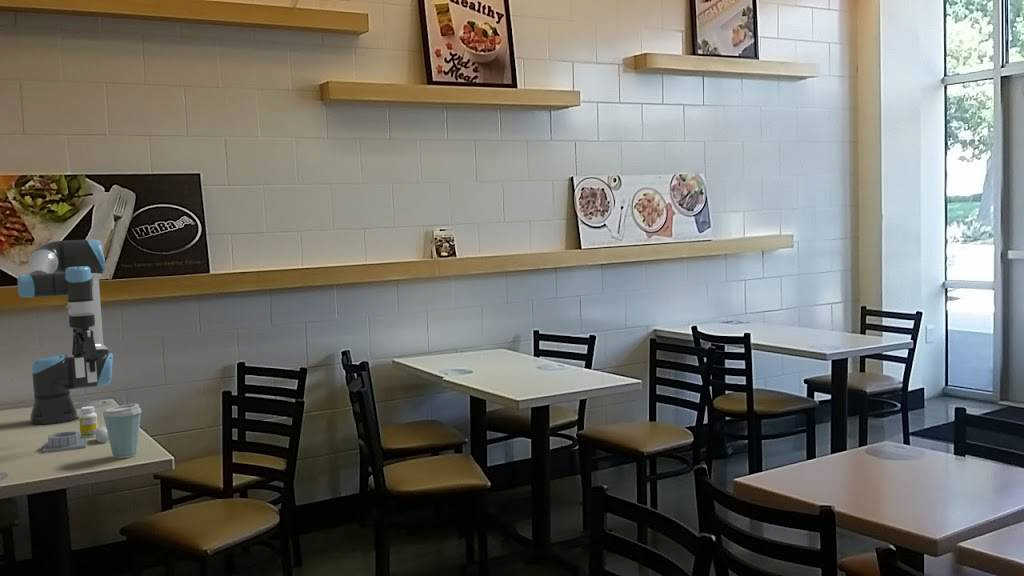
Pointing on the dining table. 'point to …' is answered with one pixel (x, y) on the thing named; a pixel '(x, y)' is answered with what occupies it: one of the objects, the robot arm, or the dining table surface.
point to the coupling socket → (64, 441)
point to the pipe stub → (102, 434)
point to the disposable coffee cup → (123, 429)
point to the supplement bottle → (88, 422)
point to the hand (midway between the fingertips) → (86, 379)
